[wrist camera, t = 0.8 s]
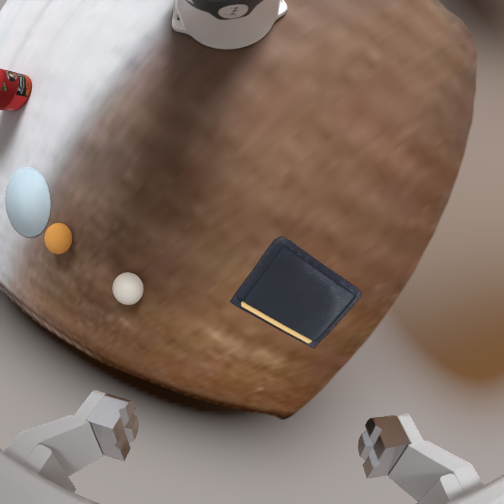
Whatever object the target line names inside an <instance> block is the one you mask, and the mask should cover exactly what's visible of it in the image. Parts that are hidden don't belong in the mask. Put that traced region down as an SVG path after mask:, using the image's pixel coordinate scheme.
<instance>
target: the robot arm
mask: <svg viewBox="0 0 504 504" xmlns="http://www.w3.org/2000/svg"><path fill="white" fill-rule="evenodd" d="M286 12H287V5H286V3H285V1H284V0H175V3H174V10H173V18H172V27H173V29H174V30H175V31H177V32H181V33H185V34H189V35H190V36H192V37H193V38H194V39H196V40H197V41H198V42H200V43H202V44H204V45H206V46H209V47H212V48H217V49H237V48H242V47H246V46H248V45H251V44H253V43H255V42H257V41H259V40H260V39H262V38H263V37H264V36H265V35H266V34H267V33H268V32H269V30H270V29H271V27H272V25H273V24H274V22H275V21H276V20H277V19H278V18H280V17H281V16H283V15H284V14H285V13H286ZM179 18H180V20H178V19H179ZM134 410H135V406H134V402H133V401H130V400H127V399H124V398H120V397H117V396H114V395H110V394H106V393H103V392H100V391H97V390H95V391H92V392H91V394H90V395H89V396H88V398H87V399H86V400H85V401H84V403H83V404H82V405H81V407H80V408H79V409H78V411H77V412H76V413H75V414H74V416H72V415H68V416H65V417H63V418H60V419H57V420H54V421H51V422H49V423H46V424H43V425H40V426H37V427H34V428H31V429H27V430H24V431H21V432H20V433H19V434H18V436H17V437H16V438H15V439H14V440H13V441H12V443H11V444H10V445H9V446H8V447H7V448H6V450H5V451H4V452H3V451H2V450H1V449H0V504H99V503H96V502H94V501H91V500H89V499H87V498H84V497H82V496H80V495H77V494H75V493H74V492H75V490H76V488H75V486H74V485H73V483H72V482H71V480H70V479H69V478H68V476H70V475H72V474H74V473H75V472H77V471H79V470H80V469H82V468H84V467H86V466H87V465H89V464H91V463H92V462H94V461H95V460H97V459H99V458H100V457H102V456H103V455H106V456H109V457H112V458H115V459H119V460H122V461H125V459H126V457H127V455H128V453H129V451H130V445H129V443H130V442H132V441H134V440H135V438H136V435H137V432H138V418H137V416H136V415H135V414H134V413H133V412H134ZM365 427H366V429H367V430H366V431H364V432H363V433H362V434H361V436H360V438H359V443H358V451H359V454H360V457H362V458H363V459H364V460H365V462H364V464H363V467H364V471H365V474H366V477H367V478H373V477H380V476H385V475H388V477H390V479H392V480H393V481H394V482H395V483H396V484H397V485H399V486H400V487H401V488H402V489H403V490H405V491H406V492H407V493H408V494H409V495H411V496H412V497H413V498H414V499H415V500H417V501H418V503H417V504H504V475H502V476H501V477H499V478H497V479H495V480H494V481H492V482H490V483H488V484H486V485H485V486H484V485H483V483H482V481H481V480H480V478H479V476H478V474H477V473H476V471H475V469H474V468H473V466H472V464H470V463H468V462H466V461H464V460H462V459H460V458H458V457H457V456H455V455H453V454H451V453H449V452H447V451H445V450H443V449H442V448H440V447H438V446H436V445H434V444H432V443H431V442H429V441H423V439H422V437H421V435H420V433H419V432H418V430H417V428H416V426H415V424H414V423H413V421H412V419H411V417H410V416H409V415H408V414H407V413H404V414H398V415H391V416H384V417H376V418H370V419H369V420H368V421H367V423H366V425H365Z"/></svg>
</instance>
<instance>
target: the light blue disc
mask: <svg viewBox="0 0 504 504" xmlns="http://www.w3.org/2000/svg"><path fill="white" fill-rule="evenodd" d="M5 203H6V211H7V215H8V218H9V220H10V222H11V224H12V226H13V227H14V228H15V230H16V231H17V232H18V233H20V234H21V235H23V236H26V237H34V236H36V235H38V234H40V233H41V232H42V231H43V230H44V228H45V227H46V225H47V223H48V220H49V216H50V210H51V199H50V192H49V188H48V186H47V183H46V181H45V179H44V177H43V176H42V175H41V173H40V172H38V171H37V170H36V169H34V168H31V167H23V168H21V169H19V170H17V171H16V172H15V173H14V174H13V175H12V177H11V179H10V181H9V183H8V186H7V189H6V197H5Z"/></svg>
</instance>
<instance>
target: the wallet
mask: <svg viewBox="0 0 504 504" xmlns="http://www.w3.org/2000/svg"><path fill="white" fill-rule="evenodd" d="M361 294H362V291H360V290H359V289H358V288H357V287H355V286H354V285H352V284H351V283H350V282H348V281H347V280H345V279H344V278H342V277H341V276H339V275H338V274H336V273H335V272H334V271H332V270H331V269H329V268H328V267H326V266H325V265H323V264H322V263H320V262H319V261H318V260H316V259H315V258H314V257H312V256H311V255H309V254H308V253H307V252H305V251H304V250H302V249H301V248H300V247H298V246H297V245H295V244H294V243H293V242H291V241H290V240H288V239H286V238H284V237H282V236H281V237H279V238H277V239H275V240H274V241H273V242H272V244H271V245H270V246H269V247H268V249H267V250H266V252H265V253H264V255H263V256H262V257H261V259H260V260H259V262H258V263H257V265H256V266H255V267H254V269H253V270H252V272H251V273H250V274H249V276H248V277H247V278H246V280H245V281H244V282H243V284H242V285H241V286H240V288H239V289H238V291H237V292H236V293H235V295H234V296H233V298H232V299H231V300H230V302H231V303H232V304H234V305H236V306H237V307H239V308H240V309H242V310H244V311H246V312H248V313H250V314H252V315H254V316H255V317H257V318H259V319H261V320H263V321H264V322H266V323H268V324H270V325H271V326H273V327H275V328H277V329H279V330H281V331H282V332H284V333H286V334H288V335H290V336H292V337H293V338H295V339H297V340H299V341H301V342H303V343H305V344H307V345H309V346H310V347H312V348H315V347H316V346H317V345H318V344H319V343H320V342H321V341H322V340H323V339H324V338H325V337H326V336H327V335H328V334H329V333H330V332H331V331H332V329H333V328H334V327H335V326H336V325H337V324H338V323H339V322H340V321H341V320H342V318H343V317H344V316H345V315H346V314H347V313H348V312H349V310H350V309H351V308H352V307H353V306H354V305H355V303H356V302H357V301H358V300H359V298H360V297H361Z"/></svg>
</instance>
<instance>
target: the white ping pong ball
mask: <svg viewBox="0 0 504 504" xmlns="http://www.w3.org/2000/svg"><path fill="white" fill-rule="evenodd" d="M112 289H113V294H114V296H115V298H116V299H117V300H118V301H119V302H120V303H122V304H125V305H132V304H135V303H136V302H138V301H139V300H140V299H141V297H142V295H143V291H144V288H143V283H142V281H141V279H140V278H139V277H138V276H137V275H135V274H133V273H129V272H126V273H122V274H120V275H119V276H117V277H116V279H115V280H114V282H113V287H112Z"/></svg>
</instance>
